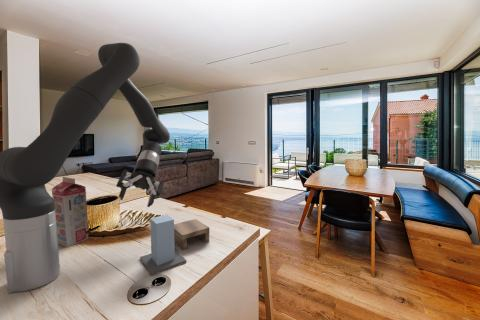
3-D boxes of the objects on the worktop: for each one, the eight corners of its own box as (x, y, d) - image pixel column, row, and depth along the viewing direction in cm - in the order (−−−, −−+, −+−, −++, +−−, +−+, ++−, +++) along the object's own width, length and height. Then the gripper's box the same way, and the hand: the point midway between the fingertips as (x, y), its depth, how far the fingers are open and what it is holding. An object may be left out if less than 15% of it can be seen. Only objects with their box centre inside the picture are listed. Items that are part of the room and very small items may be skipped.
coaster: (151, 275, 58) (150, 273, 57) (140, 258, 65) (140, 256, 65) (186, 262, 64) (186, 260, 64) (172, 248, 72) (172, 246, 71)
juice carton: (77, 234, 80) (73, 175, 78) (88, 238, 77) (84, 177, 75) (55, 242, 74) (50, 178, 72) (67, 247, 71) (62, 180, 69)
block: (157, 265, 61) (156, 223, 60) (151, 257, 65) (150, 218, 64) (174, 259, 64) (174, 219, 63) (167, 252, 68) (167, 214, 67)
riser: (182, 250, 71) (182, 235, 70) (170, 238, 78) (170, 225, 78) (209, 241, 77) (209, 227, 76) (195, 231, 85) (195, 218, 84)
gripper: (130, 151, 77) (114, 190, 66) (169, 165, 83) (161, 202, 72) (124, 164, 81) (109, 202, 70) (162, 176, 87) (153, 213, 76)
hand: (135, 202), depth 71 cm, fingers open, 8 cm apart
